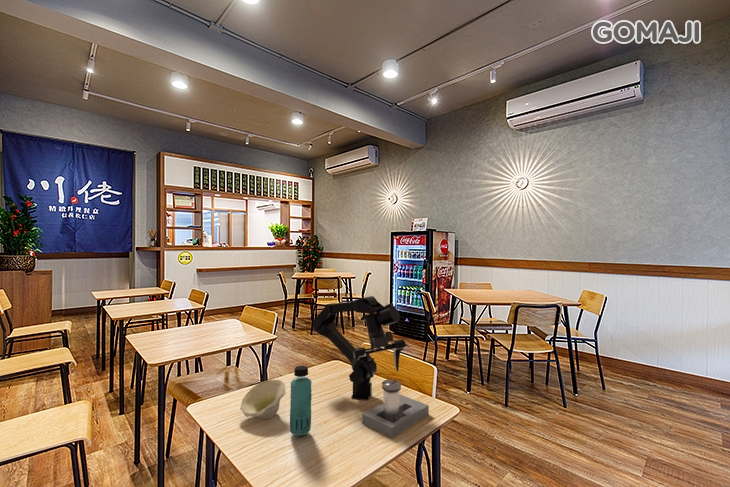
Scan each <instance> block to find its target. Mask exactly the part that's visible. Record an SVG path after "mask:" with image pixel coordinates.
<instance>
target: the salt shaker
mask: <svg viewBox="0 0 730 487" xmlns="http://www.w3.org/2000/svg"><path fill="white" fill-rule="evenodd" d="M381 388H382V390H383V400H382V401H383V418H384V419H386V420H388V421H390V422H392V423H394V422H396V421H397V420H399V419H400V416H399V395H400V391H401V390H402V382H400V380H397V379H384V380H383V381H382V382H381Z"/></svg>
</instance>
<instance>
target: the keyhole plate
mask: <svg viewBox="0 0 730 487" xmlns="http://www.w3.org/2000/svg"><path fill="white" fill-rule="evenodd" d="M429 407H430V406H429V405H428V404H427V403H424V402H421V401H418V400H415V399H414V398H411V397H408V396H405V395H403V394H400V393H399V417H400V416H401V418H399V420H397V421H396V422H394V423H392V422H390V421H388V420H386V419H384V418H383V403H381V404H379V405H377V406H375V407H372V408H371V409H369V410H367V411H365V412H362V415H361V416H362V417H361V420H362V422H361V423H362V424H363V425H365V426H367V427H369V428H371V429H372V430H374V431H376V432H379V433H380V434H382V435H384V436H387V437H388V438H390V439H393V438H395V437H397V436H398V435H399V434H401V433H402V432H404V431H405V430H407V429H408V428H410V427H411V426H413V425H414V424H416V423H417V422H419V421H421V420H422V419H424V418H425V417H427V416H428V415H429V413H430V412H429V410H430V408H429Z"/></svg>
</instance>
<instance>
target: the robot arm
mask: <svg viewBox="0 0 730 487" xmlns="http://www.w3.org/2000/svg"><path fill="white" fill-rule="evenodd" d="M346 312H348V313H349V312H354V313H358V314H362V316H361V317H360V321H362V322H365V324H366V329H367V334H368V339H369V345H370V347H369V348H366V347H365V346H363V347H358V348H356V347H354V345H352V344H351V342H350V341H349V340H348V339H347V338H346V337H344V335H343V334H342V332H340V331H339V330H338V329H337V325H336V323H335V321H336V320H337V313H346ZM367 313H368V314H367ZM400 319H401V314H400V312H399V310H398V309H397V308H396V307H395V306H394V304H393V303H387V304H386V305H383V304H381V303H380V302H379V301H378V300H377V298H376V297H375V296H373V295H371V296H370V295H369V296H363V297H360V298H357V299H355V300H353V301H345V302H331V303H328V304H326V305H325V306H324V307H323V309H322V310H321V311H320V312H319V313H318V314H317V316H316V317H315V318H314V320H313V322H312V328H313V330H314V332H315V333H317V334H318V335H320V336H323V337H324V338H327V339H328V340H329V341H330V343H332V344H333V345H334V346H335V348H337V350H338V351H340V353H341V355H343V356H344V357H345V358H346V359H347V361H349V362H350V365H351V370H352V372H351V373H350V374H349V375H348V377H349V380H350V382H351V383H352V395H351V399H358V400H367V401H368V400H369V398H370V397H371V396H372V393H373V383H372V382H371V379H372V378H373V377H374V375H375V374H376V373H377V370H378V369H377V368H378V367H377V362H376V361H375V358H373V357H372V356H371V355H370V354H374V353H380V352H385V351H390V350H393V351H392V355H393V361H394V368H395V370H396V372H397V373H398V372H399V367H400V365H399V364H400V355H401V352H403V351H404V349H405V348H406V347H407V344H406V340H405V339H403V338H402V339H398V340H397V339H396V340H394V337H393V331H391V330H389V331H386V332H385V331H384V327H386V326H390V325H392V324H395V323H397V322H399V321H400ZM389 342H391V343H390V344H389Z"/></svg>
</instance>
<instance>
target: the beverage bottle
mask: <svg viewBox="0 0 730 487" xmlns="http://www.w3.org/2000/svg"><path fill="white" fill-rule="evenodd" d="M293 375H294V376H295V378H293V379H292V380H291V381H290V402H289V403H290V410H289V432H290V434H292V435H294V436H304V435H306V434H308V433H310V431H311V429H312V401H313V400H312V399H313V398H312V397H313V394H312V384H313V383H312V380H311V378H309V377H308V375H309V368H308V366H306V365H298V366H296V367H294V374H293Z"/></svg>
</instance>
